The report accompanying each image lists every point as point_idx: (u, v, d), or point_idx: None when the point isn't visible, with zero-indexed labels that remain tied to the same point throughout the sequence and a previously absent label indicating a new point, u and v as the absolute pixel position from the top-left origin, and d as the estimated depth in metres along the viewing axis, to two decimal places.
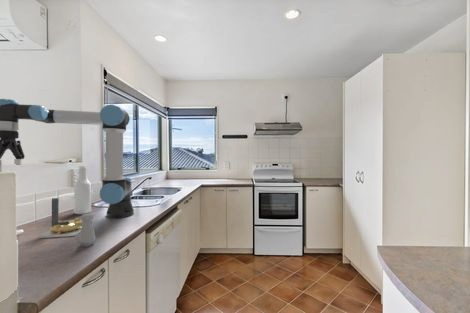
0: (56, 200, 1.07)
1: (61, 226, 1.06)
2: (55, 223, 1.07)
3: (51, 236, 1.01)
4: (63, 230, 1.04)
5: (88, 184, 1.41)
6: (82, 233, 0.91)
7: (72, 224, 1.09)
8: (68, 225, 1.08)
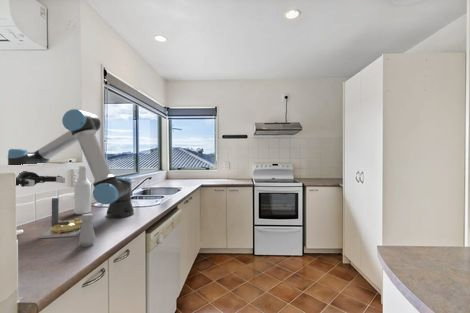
0: (56, 200, 1.07)
1: (61, 226, 1.06)
2: (55, 223, 1.07)
3: (51, 236, 1.01)
4: (63, 230, 1.04)
5: (88, 184, 1.41)
6: (82, 233, 0.91)
7: (72, 224, 1.09)
8: (68, 225, 1.08)
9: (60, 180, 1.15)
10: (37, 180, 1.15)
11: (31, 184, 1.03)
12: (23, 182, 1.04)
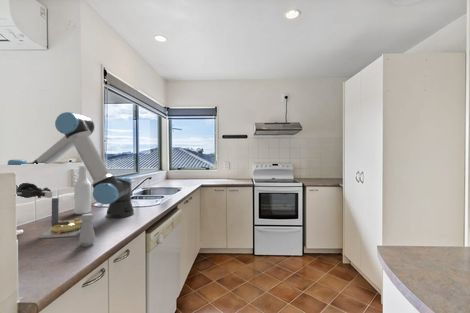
0: (56, 200, 1.07)
1: (61, 226, 1.06)
2: (55, 223, 1.07)
3: (51, 236, 1.01)
4: (63, 230, 1.04)
5: (88, 184, 1.41)
6: (82, 233, 0.91)
7: (72, 224, 1.09)
8: (68, 225, 1.08)
9: None
10: None
11: (47, 196, 1.08)
12: (40, 194, 1.08)
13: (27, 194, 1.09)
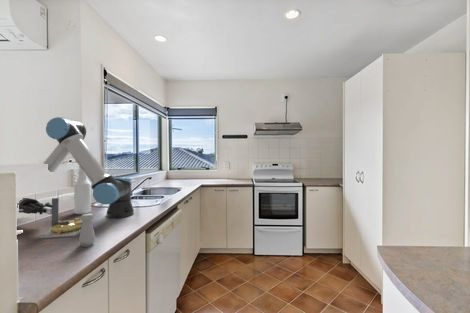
0: (56, 200, 1.07)
1: (61, 226, 1.06)
2: (55, 223, 1.07)
3: (51, 236, 1.01)
4: (63, 230, 1.04)
5: (88, 184, 1.41)
6: (82, 233, 0.91)
7: (72, 224, 1.09)
8: (68, 225, 1.08)
9: None
10: None
11: (49, 212, 1.07)
12: (41, 210, 1.08)
13: (29, 211, 1.08)
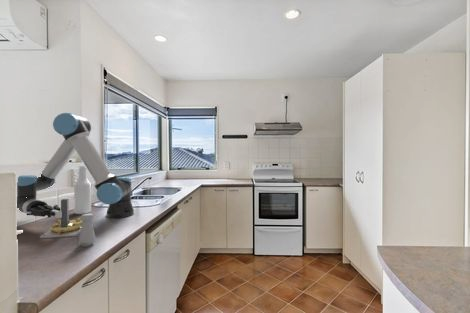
0: (68, 200, 1.07)
1: None
2: (67, 223, 1.06)
3: (51, 236, 1.01)
4: None
5: (88, 184, 1.41)
6: (82, 233, 0.91)
7: (75, 221, 1.13)
8: (76, 222, 1.12)
9: None
10: None
11: (57, 216, 1.03)
12: (49, 213, 1.04)
13: (37, 213, 1.04)
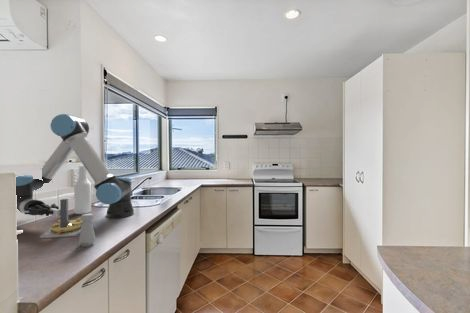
0: (67, 200, 1.06)
1: None
2: (67, 223, 1.06)
3: (51, 236, 1.01)
4: None
5: (88, 184, 1.41)
6: (82, 233, 0.91)
7: (75, 221, 1.13)
8: (76, 222, 1.12)
9: None
10: None
11: (56, 214, 1.04)
12: (48, 212, 1.05)
13: (35, 212, 1.05)
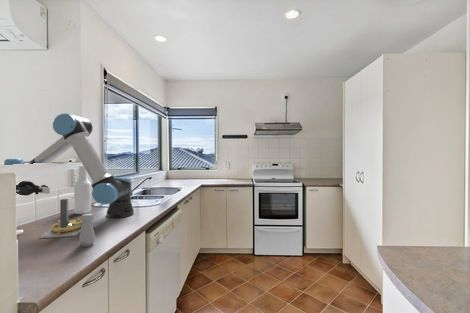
0: (67, 200, 1.06)
1: None
2: (67, 223, 1.06)
3: (51, 236, 1.01)
4: None
5: (88, 184, 1.41)
6: (82, 233, 0.91)
7: (75, 221, 1.13)
8: (76, 222, 1.12)
9: None
10: None
11: (45, 191, 1.09)
12: (37, 190, 1.09)
13: (25, 191, 1.09)
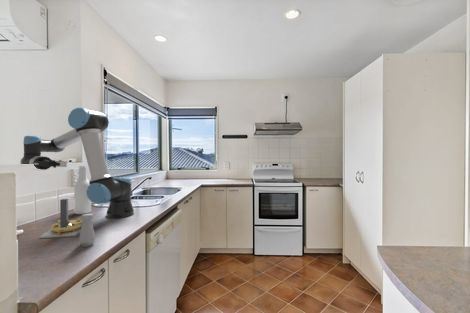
0: (67, 200, 1.06)
1: None
2: (67, 223, 1.06)
3: (51, 236, 1.01)
4: None
5: (88, 184, 1.41)
6: (82, 233, 0.91)
7: (75, 221, 1.13)
8: (76, 222, 1.12)
9: None
10: None
11: (62, 165, 1.18)
12: (55, 163, 1.19)
13: (43, 164, 1.19)
